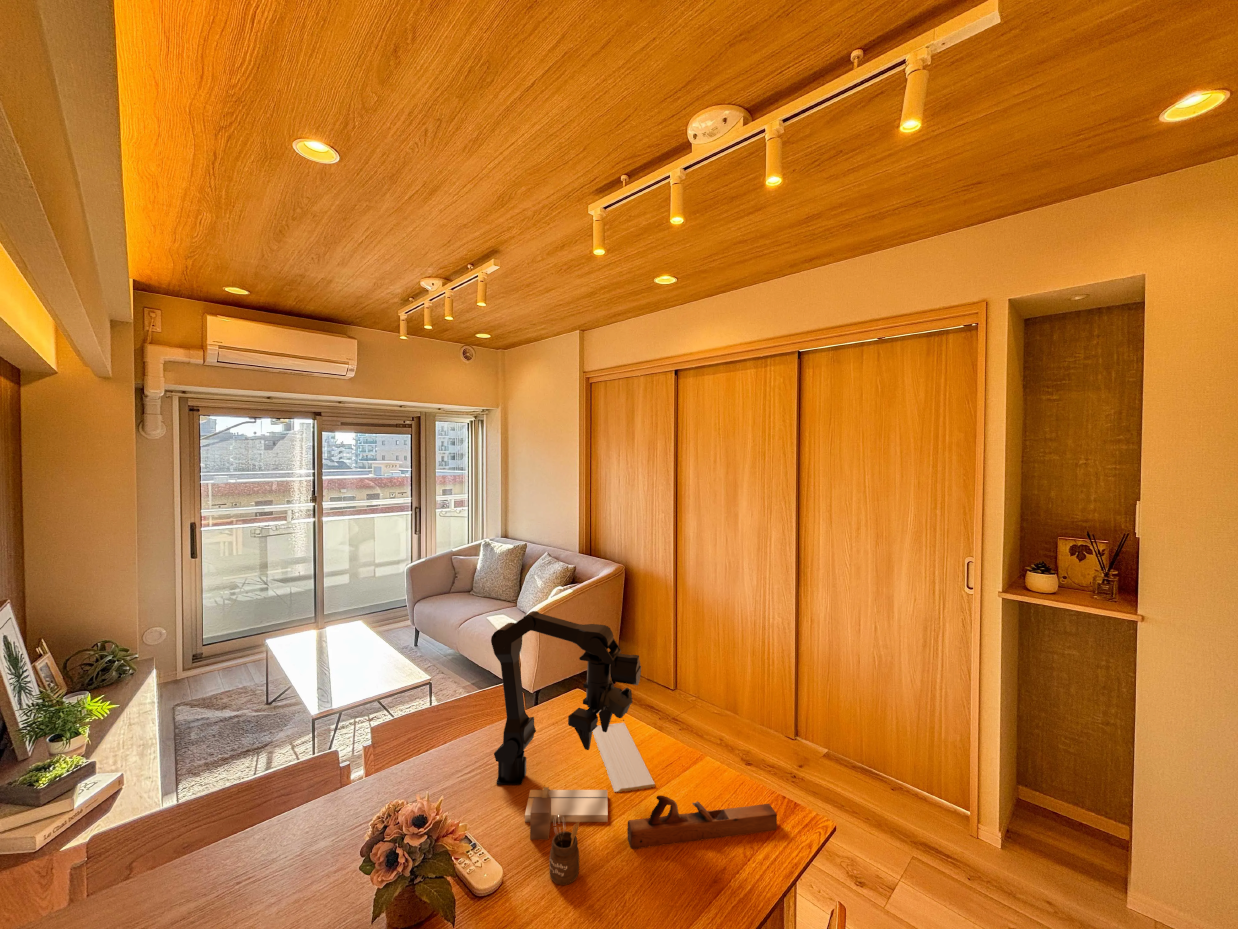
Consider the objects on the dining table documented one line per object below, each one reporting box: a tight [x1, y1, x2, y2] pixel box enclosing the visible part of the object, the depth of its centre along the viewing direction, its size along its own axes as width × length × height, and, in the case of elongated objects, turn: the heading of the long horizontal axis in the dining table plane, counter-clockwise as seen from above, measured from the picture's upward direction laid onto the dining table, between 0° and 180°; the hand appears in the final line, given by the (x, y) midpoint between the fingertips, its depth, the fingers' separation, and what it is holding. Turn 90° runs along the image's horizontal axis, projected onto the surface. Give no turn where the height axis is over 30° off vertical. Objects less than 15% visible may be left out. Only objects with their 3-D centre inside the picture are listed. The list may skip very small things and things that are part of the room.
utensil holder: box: [549, 814, 580, 886], centre depth 105 cm, size 6×6×12 cm
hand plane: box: [626, 795, 778, 850], centre depth 117 cm, size 34×5×10 cm, turn 104°
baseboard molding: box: [592, 719, 656, 794], centre depth 146 cm, size 31×3×12 cm
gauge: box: [529, 787, 552, 841], centre depth 121 cm, size 4×13×6 cm, turn 2°
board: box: [524, 789, 609, 823], centre depth 124 cm, size 19×9×2 cm, turn 92°
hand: (596, 740), depth 130 cm, fingers open, 9 cm apart
